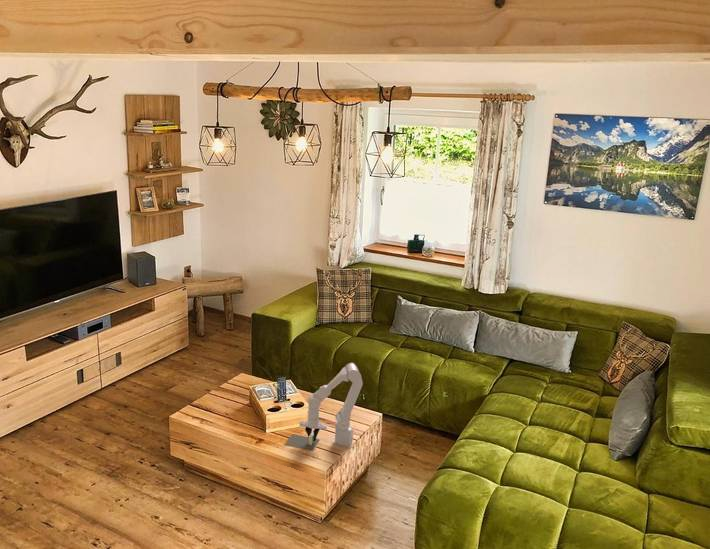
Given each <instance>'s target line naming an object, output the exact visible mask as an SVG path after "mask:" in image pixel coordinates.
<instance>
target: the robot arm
mask: <svg viewBox="0 0 710 549" xmlns="http://www.w3.org/2000/svg"><path fill="white" fill-rule="evenodd" d="M349 381H350V382H351V386H350V388H349V390H348V393H347V396H346V398H345V400H344V403H343V405H342V408H340V409H339V411H338V412H337V413H336V414H335V420H336V424H335V426H334V427H335V429H334V430H335V431H334V439H333V441H332V442H331V443H332V444H336V445H339V446H344V447H351V446H350V445H351V444H352V443H353V440H354V428H352V427H350V424H351V417H352V415H351V414H352V411H353V409H354V406H355V404H356V402H357V399H358V397H359V394H360V391H361V390H362V387H363V384H364V383H363V378H362V375H361V373H360V369H359V368H358V365H356V364H355V363H354V362H350V363H347V364H346V365H344V367H342V368H341V370H340V372H338V373H337V374H336V376H335V377H334V378H332V379H331V380H330V382H329V383H328V384H324V385H322V386H319V389H318V390H316V391H315V392H313V393H312V394H310V395H309V396H308V398H307V402H308V409H307V421H305V420H304V421H303V420H300V421H299V426H300V427H302V426H303V427H304V429H305V430H304V431H305V432H306V434H307V437H309V436H310V434H311V433H312V431H313V433H314V441H315V440H316V439H317V437H318V434H319V432H320V430H321V431H322V430H323V431H324V432H326V430H327V429H328V428H327V425H324V424H322V423H320V422H319V421H320V407H321V405H322V404H321V403H322V402H323V401H324V400H325V399H326V398H328V396H330V395H331V394H332V390H333V389H334V388H336V387H337V386H338V385H339V384H341V383H342V382H349ZM313 429H314V430H313Z"/></svg>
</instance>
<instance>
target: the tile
mask: <svg viewBox="0 0 710 549" xmlns="http://www.w3.org/2000/svg"><path fill="white" fill-rule="evenodd" d="M313 431H314V430H312V433H311V434H310V436H309V445H313V444H314V442H315V441H316V440H315V441H314V433H313Z"/></svg>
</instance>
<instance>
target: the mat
mask: <svg viewBox="0 0 710 549" xmlns="http://www.w3.org/2000/svg"><path fill="white" fill-rule="evenodd" d="M320 440H321V439H320V438H316V441H315V442H314V444H313V445H309V437H308V436H306V435H301V434H295V433H292V434H291V435H290V436H289V438H288V439H287V440H286V442H284V444H283V445H284V446H288V447H290V448H291V447H293V448H296V449H301V450H306V451H311V452H313V451H314V450H315V449H316V447H317V445H318V443H319V442H320Z"/></svg>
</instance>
